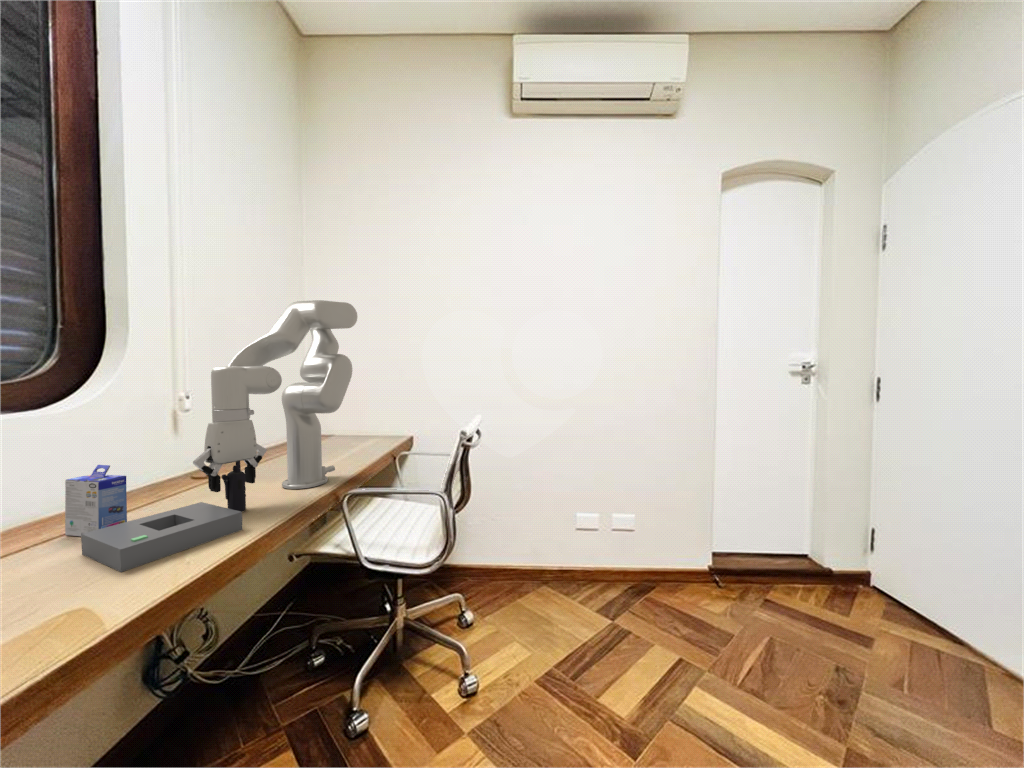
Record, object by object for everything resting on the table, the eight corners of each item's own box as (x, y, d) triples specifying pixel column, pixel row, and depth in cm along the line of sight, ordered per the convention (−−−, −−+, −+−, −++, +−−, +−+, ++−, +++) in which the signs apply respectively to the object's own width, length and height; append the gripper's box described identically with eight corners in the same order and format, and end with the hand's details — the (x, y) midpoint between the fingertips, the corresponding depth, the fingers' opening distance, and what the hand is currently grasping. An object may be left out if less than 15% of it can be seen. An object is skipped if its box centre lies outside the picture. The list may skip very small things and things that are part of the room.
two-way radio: (248, 511, 97) (246, 452, 96) (226, 516, 93) (224, 455, 93) (241, 506, 100) (239, 449, 100) (220, 511, 97) (218, 452, 97)
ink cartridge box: (130, 529, 87) (127, 464, 86) (99, 539, 81) (96, 470, 81) (96, 526, 89) (93, 463, 88) (64, 536, 83) (61, 468, 83)
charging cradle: (202, 518, 92) (201, 500, 92) (242, 529, 85) (242, 510, 85) (81, 554, 74) (81, 532, 74) (121, 572, 67) (120, 547, 67)
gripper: (257, 412, 106) (259, 476, 106) (181, 419, 90) (183, 495, 90) (275, 413, 102) (277, 479, 103) (199, 420, 87) (201, 499, 87)
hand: (233, 486), depth 97 cm, fingers open, 7 cm apart
